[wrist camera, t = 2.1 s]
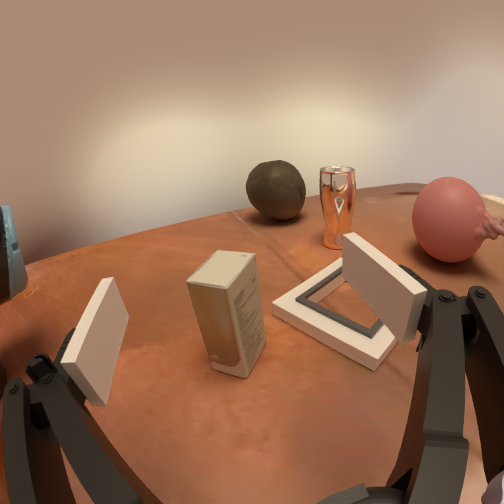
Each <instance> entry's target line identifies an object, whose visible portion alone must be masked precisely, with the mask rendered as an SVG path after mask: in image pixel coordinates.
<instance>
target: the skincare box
mask: <svg viewBox="0 0 504 504" xmlns="http://www.w3.org/2000/svg"><path fill="white" fill-rule="evenodd" d="M186 282H187V286H188V289H189V293H190V297H191V300H192V303H193V307H194V310H195V314H196V317H197V320H198V323H199V327H200V330H201V333H202V336H203V340H204V343H205V345H206V349H207V352H208V355H209V358H210V361H211V364H212V367H213V369H215V370H218V371H221V372H224V373H227V374H231V375H234V376H238V377H241V378H247V377H248V375H249V374H250V372H251V370H252V368H253V367H254V365H255V363H256V361H257V359H258V357H259V356H260V354H261V352H262V350H263V347H264V345H265V343H266V336H265V328H264V320H263V312H262V304H261V296H260V288H259V280H258V272H257V264H256V257H255V253H245V252H235V251H222V250H218V251H216V252H215V253H214V254H213V255H212V256H211V257H210V258H209V259H208V260H207V261H205V263H203V264H202V265H201V266H200V267H199V268H198V269H197V270H196V271H195V272H194V273H193V274H192V275H191V276H190V277H189V278H188V279H187V280H186Z"/></svg>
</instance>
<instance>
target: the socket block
mask: <svg viewBox="0 0 504 504" xmlns="http://www.w3.org/2000/svg"><path fill="white" fill-rule="evenodd" d="M345 281H346V280H345V279H344V278H343V277H342V258H339V259H338V260H336V261H335V262H333V263H332V264H330V265H329V266H327V267H326V268H324V269H323V270H321V271H320V272H318V273H317V274H315V275H314V276H312V277H311V278H309V279H308V280H306V281H305V282H303V283H302V284H300V285H299V286H297V287H295V288H294V289H292V290H291V291H289V292H288V293H286V294H284V295H283V296H281V297H280V298H278V299H276V300H275V301H273V302H272V311H273V315H275V316H277V317H278V318H280V319H282V320H283V321H285V322H287V323H288V324H290V325H292V326H294V327H295V328H297V329H299V330H301V331H302V332H304V333H306V334H307V335H309V336H311V337H313V338H314V339H316V340H318V341H320V342H322V343H323V344H325V345H327V346H329V347H330V348H332V349H334V350H336V351H338V352H339V353H341V354H343V355H345V356H347V357H349V358H350V359H352V360H354V361H356V362H358V363H360V364H361V365H363V366H365V367H367V368H369V369H371V370H373V371H375V370H376V369H377V368H378V366H379V365H380V364H381V363H382V361H383V360H384V359H385V358H386V356H387V355H388V354H389V352H390V351H391V350H392V348H393V347H394V346H395V344H396V343H397V342H398V340H397V339H396V338H395V336H394V335H393V334H392V333H391V332H390V330H389V329H388V328H387V327H386V326H385V325H384V323H383V322H382V321H381V320H380V319H378V321H377V322H376V323H375V324H374V325H373V326H372V327H371V328H370V329H368V328H366V327H364V326H362V325H360V324H358V323H356V322H354V321H352V320H349V319H347V318H345V317H343V316H341V315H339V314H337V313H335V312H333V311H331V310H329V309H327V308H324V307H322V306H320V305H318V304H316V303H318V302H319V301H320V300H322V299H323V298H324V297H326V296H327V295H328V294H330V293H331V292H332V291H333V290H335V289H336V288H337V287H339V286H340V285H341V284H342V283H344V282H345ZM346 282H347V281H346Z"/></svg>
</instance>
